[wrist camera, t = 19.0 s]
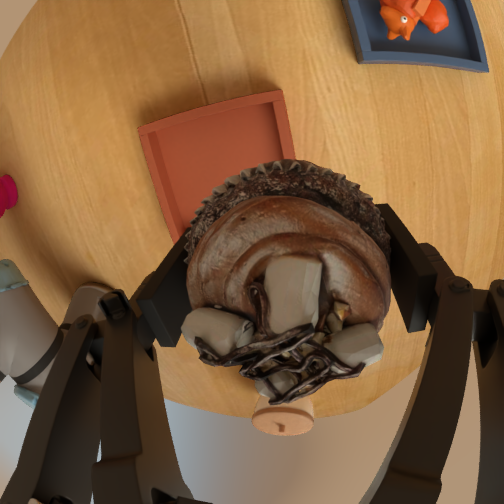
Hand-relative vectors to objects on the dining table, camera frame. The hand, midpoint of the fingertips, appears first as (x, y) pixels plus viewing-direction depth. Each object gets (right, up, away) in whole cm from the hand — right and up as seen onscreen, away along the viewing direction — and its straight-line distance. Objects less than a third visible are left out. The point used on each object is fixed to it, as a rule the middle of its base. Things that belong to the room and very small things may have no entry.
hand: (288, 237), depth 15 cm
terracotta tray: (-5, +8, +14) cm, 17 cm away
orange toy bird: (+14, +24, +1) cm, 28 cm away
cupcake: (0, +1, +2) cm, 2 cm away
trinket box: (+4, -26, +33) cm, 42 cm away
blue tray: (+14, +25, +1) cm, 28 cm away
